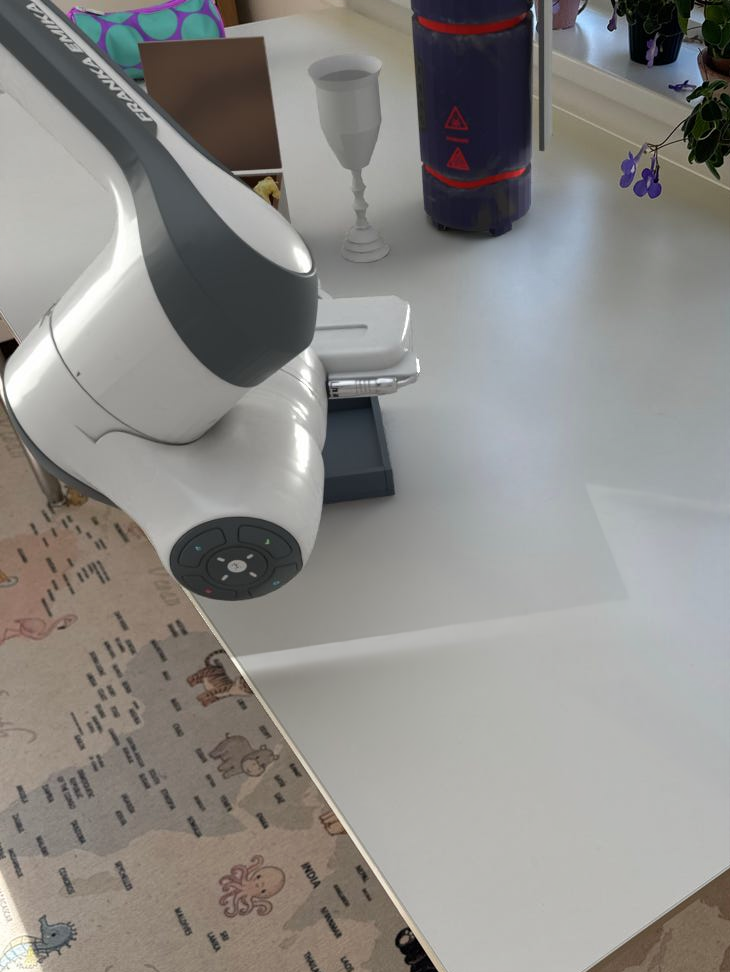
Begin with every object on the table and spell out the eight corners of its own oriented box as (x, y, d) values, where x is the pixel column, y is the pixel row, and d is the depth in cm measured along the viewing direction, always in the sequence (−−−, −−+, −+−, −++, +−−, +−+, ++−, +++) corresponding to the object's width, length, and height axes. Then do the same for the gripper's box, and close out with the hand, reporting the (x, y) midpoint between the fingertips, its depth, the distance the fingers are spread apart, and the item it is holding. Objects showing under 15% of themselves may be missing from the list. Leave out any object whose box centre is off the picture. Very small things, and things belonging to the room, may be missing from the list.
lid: (263, 36, 101) (264, 35, 102) (136, 42, 101) (138, 41, 101) (281, 168, 108) (282, 167, 109) (163, 175, 108) (165, 173, 108)
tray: (214, 518, 81) (207, 493, 79) (213, 427, 89) (207, 403, 87) (395, 494, 83) (392, 469, 81) (377, 407, 91) (375, 382, 89)
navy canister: (409, 234, 113) (385, -98, 91) (442, 187, 120) (426, -129, 98) (534, 248, 110) (539, -91, 88) (558, 199, 118) (569, -124, 96)
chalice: (370, 273, 107) (350, 86, 94) (318, 257, 110) (291, 73, 96) (410, 244, 111) (397, 61, 98) (359, 229, 114) (339, 49, 101)
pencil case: (88, 96, 142) (66, 18, 135) (75, 76, 148) (53, -1, 141) (234, 69, 148) (220, -8, 141) (216, 50, 154) (202, -24, 147)
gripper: (417, 344, 64) (410, 240, 74) (83, 364, 64) (120, 257, 73) (423, 429, 69) (416, 321, 78) (112, 448, 68) (143, 337, 78)
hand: (271, 290), depth 76 cm, fingers closed on vegetable, 4 cm apart
